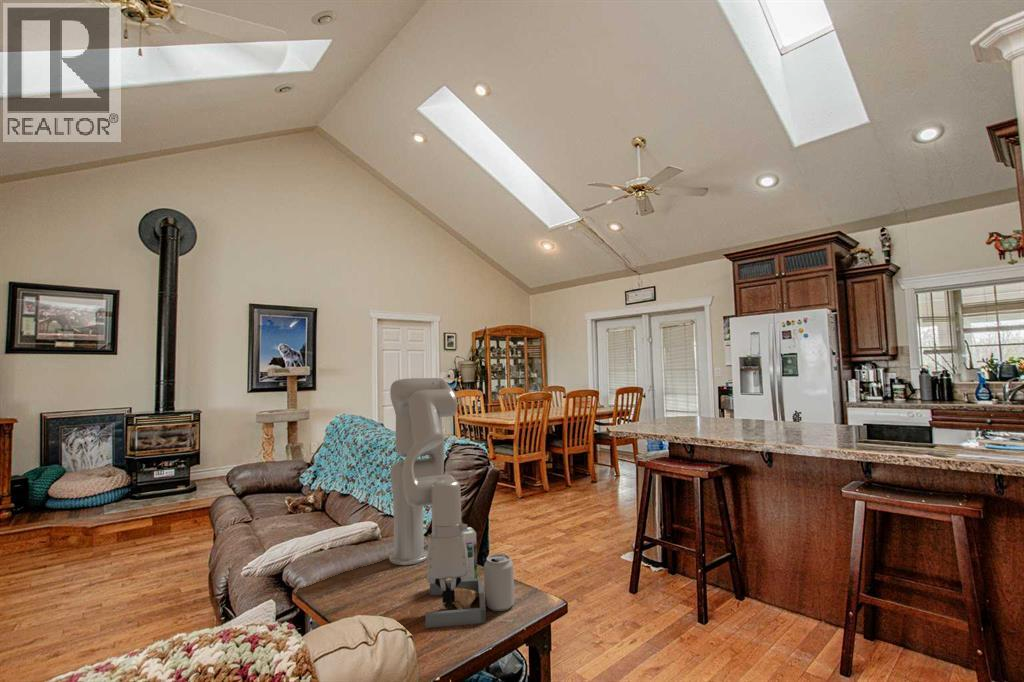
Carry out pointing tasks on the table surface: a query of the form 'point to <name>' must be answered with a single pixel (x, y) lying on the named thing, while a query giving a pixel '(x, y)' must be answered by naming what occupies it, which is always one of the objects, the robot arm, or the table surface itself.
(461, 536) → the robot arm
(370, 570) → the table surface
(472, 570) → the syrup box
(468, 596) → the shard
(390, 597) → the table surface
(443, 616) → the box
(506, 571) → the can
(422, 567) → the table surface
